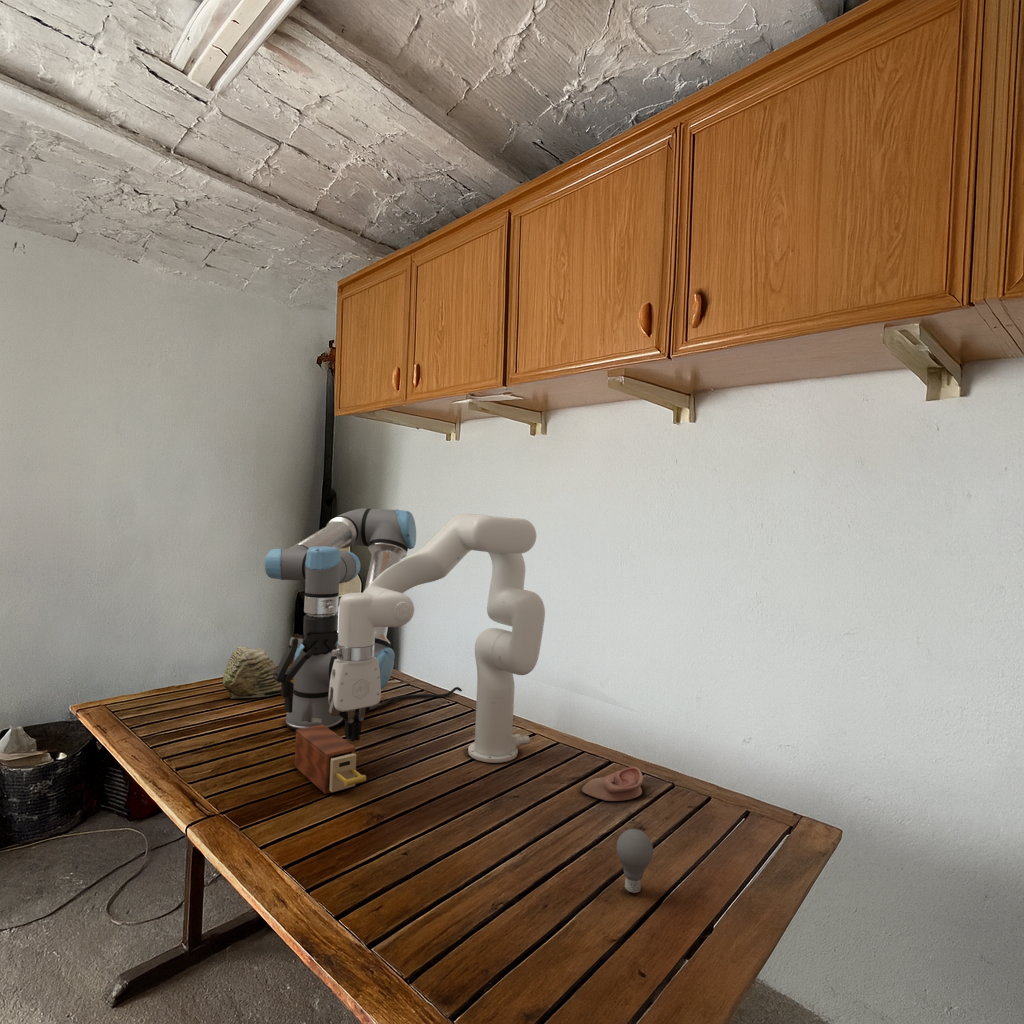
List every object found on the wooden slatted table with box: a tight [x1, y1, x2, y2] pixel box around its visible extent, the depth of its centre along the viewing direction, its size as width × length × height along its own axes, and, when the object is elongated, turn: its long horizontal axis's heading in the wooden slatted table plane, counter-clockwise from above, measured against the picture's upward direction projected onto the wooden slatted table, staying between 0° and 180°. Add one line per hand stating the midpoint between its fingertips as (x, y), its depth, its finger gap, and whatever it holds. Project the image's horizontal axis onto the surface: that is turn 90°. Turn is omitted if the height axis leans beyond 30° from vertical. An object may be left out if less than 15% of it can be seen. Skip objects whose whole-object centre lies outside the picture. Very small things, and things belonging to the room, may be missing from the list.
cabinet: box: [294, 724, 356, 795], centre depth 144 cm, size 17×7×9 cm, turn 40°
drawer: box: [329, 752, 367, 793], centre depth 140 cm, size 22×5×7 cm, turn 40°
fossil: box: [222, 646, 281, 699], centre depth 198 cm, size 9×18×15 cm, turn 132°
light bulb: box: [615, 828, 654, 894], centre depth 106 cm, size 6×6×10 cm
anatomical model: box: [581, 766, 644, 802], centre depth 142 cm, size 13×4×12 cm
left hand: (317, 705), depth 146 cm, fingers open, 13 cm apart
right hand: (352, 738), depth 133 cm, fingers closed
